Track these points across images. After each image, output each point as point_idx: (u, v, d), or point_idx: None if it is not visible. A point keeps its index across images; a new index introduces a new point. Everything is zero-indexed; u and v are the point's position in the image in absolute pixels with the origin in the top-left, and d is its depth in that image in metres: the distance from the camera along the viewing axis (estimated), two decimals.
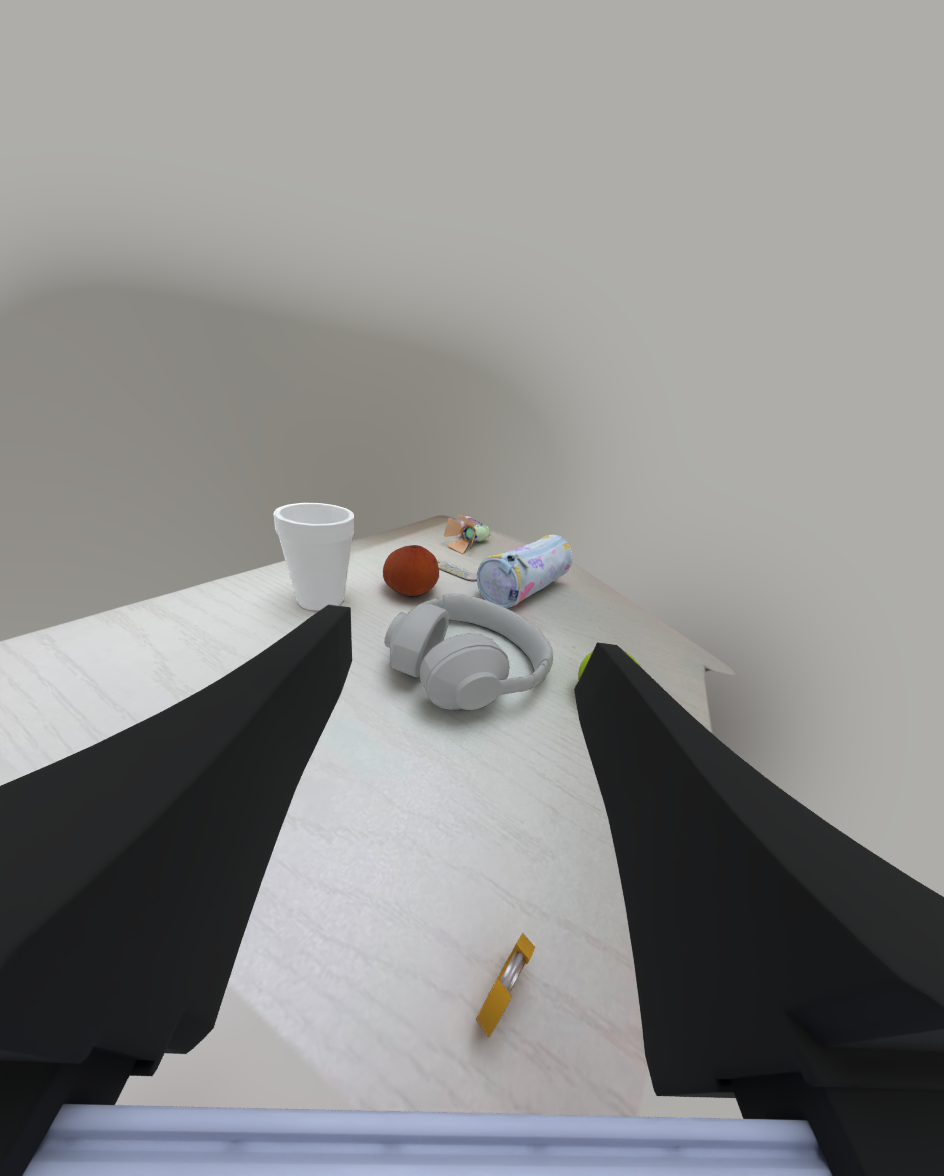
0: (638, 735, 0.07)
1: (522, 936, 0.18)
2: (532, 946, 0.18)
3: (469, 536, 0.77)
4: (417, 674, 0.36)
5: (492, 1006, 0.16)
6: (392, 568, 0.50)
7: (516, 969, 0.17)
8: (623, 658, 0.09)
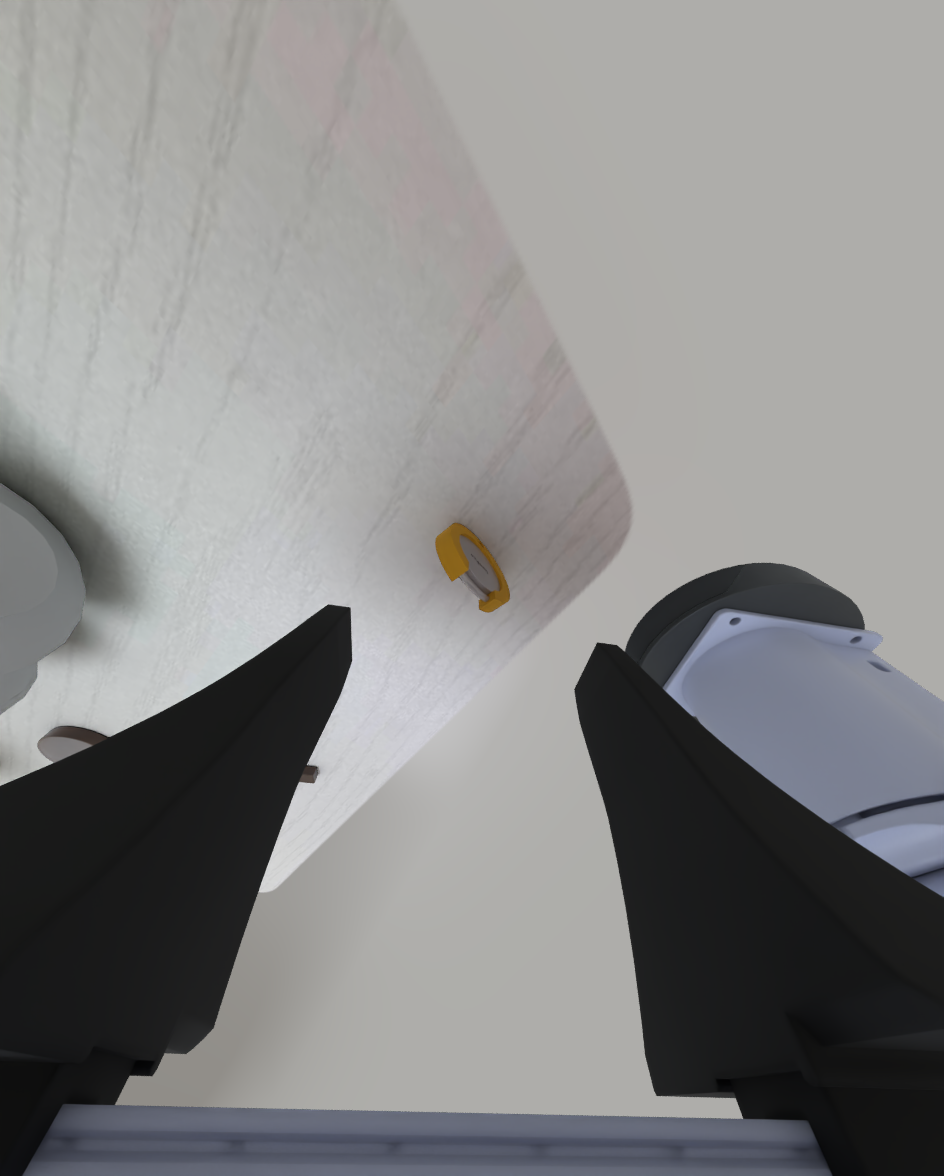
0: (638, 735, 0.07)
1: (442, 562, 0.13)
2: (453, 549, 0.13)
3: None
4: None
5: (496, 608, 0.14)
6: None
7: (474, 586, 0.13)
8: (623, 658, 0.09)
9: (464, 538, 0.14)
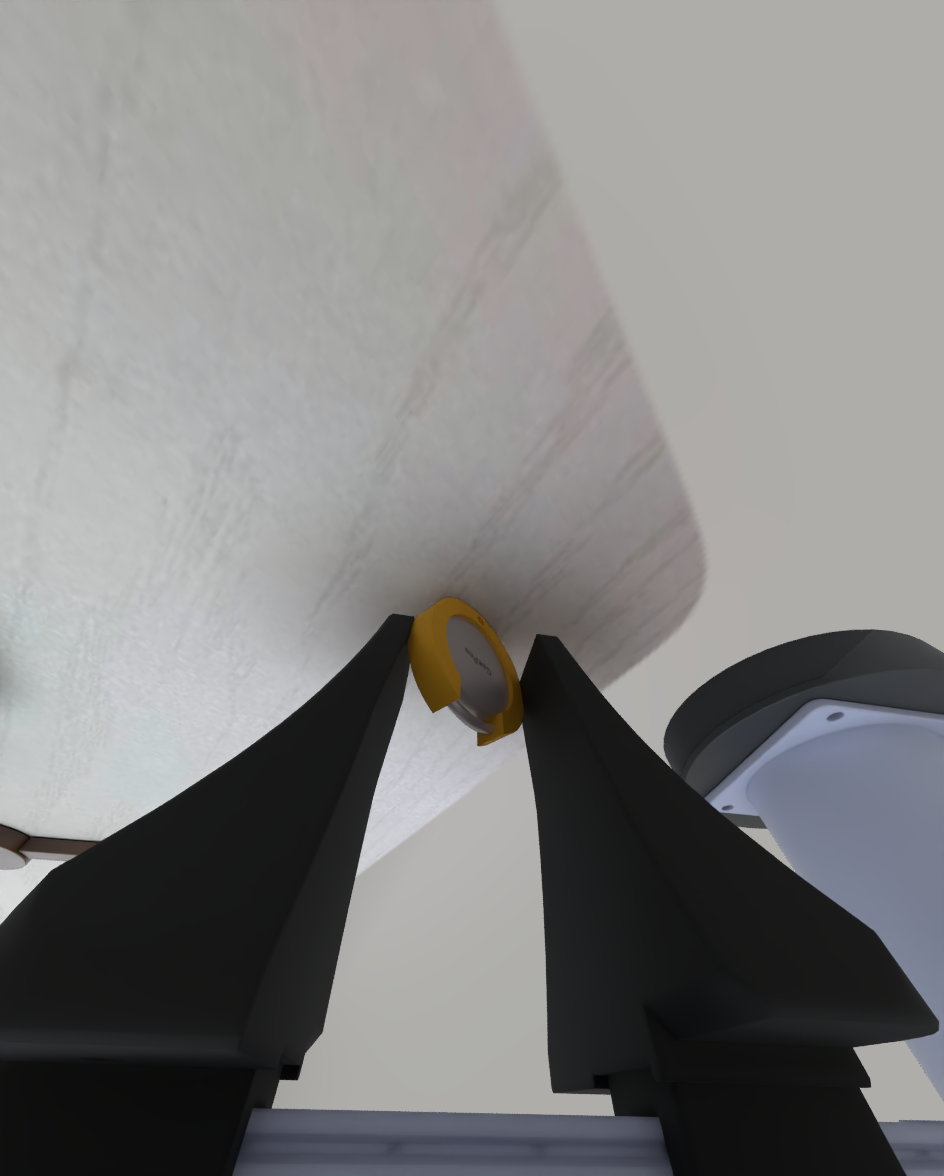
0: (560, 726, 0.07)
1: (417, 679, 0.08)
2: (434, 660, 0.08)
3: None
4: None
5: None
6: None
7: (469, 718, 0.08)
8: (557, 649, 0.09)
9: (455, 620, 0.10)
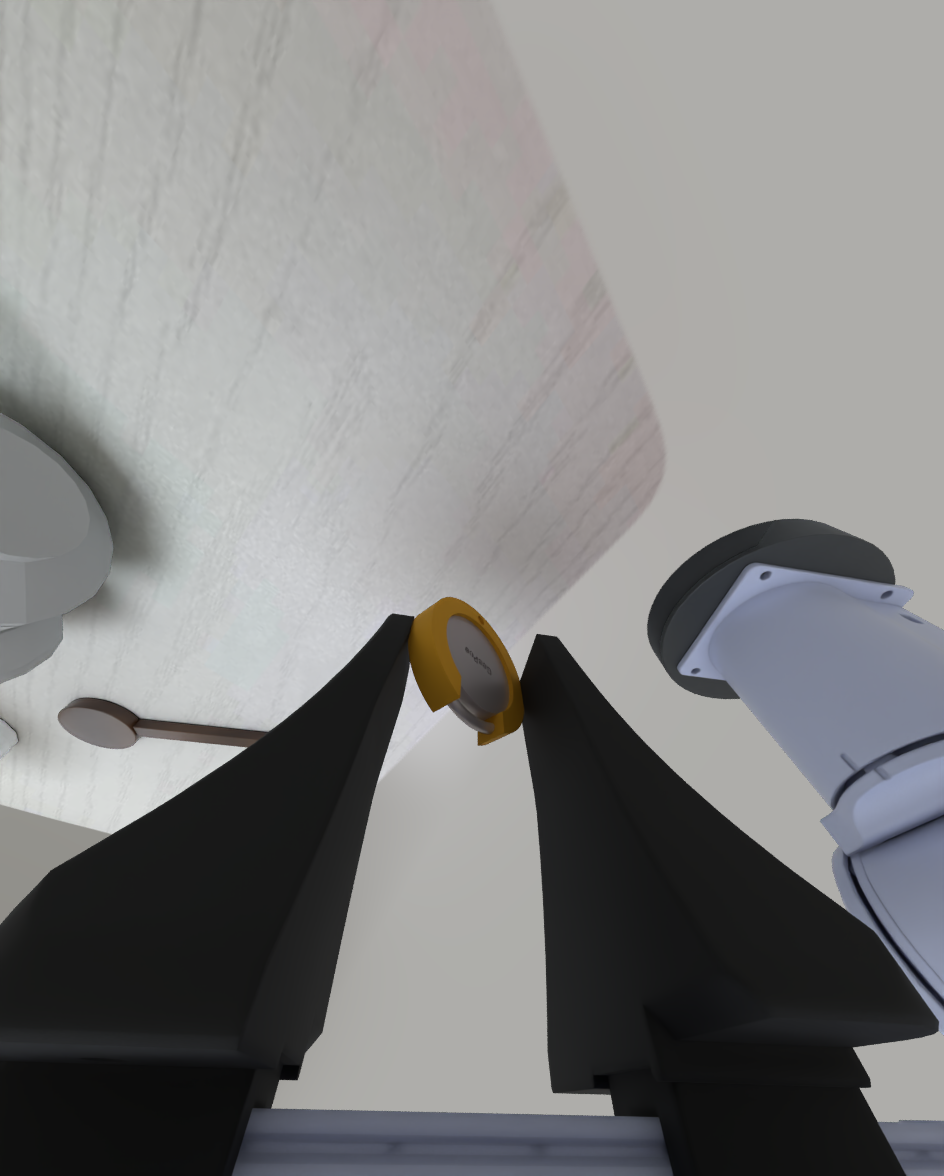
0: (560, 726, 0.07)
1: (417, 678, 0.08)
2: (435, 660, 0.08)
3: None
4: None
5: None
6: None
7: (470, 717, 0.08)
8: (557, 649, 0.09)
9: (455, 620, 0.10)
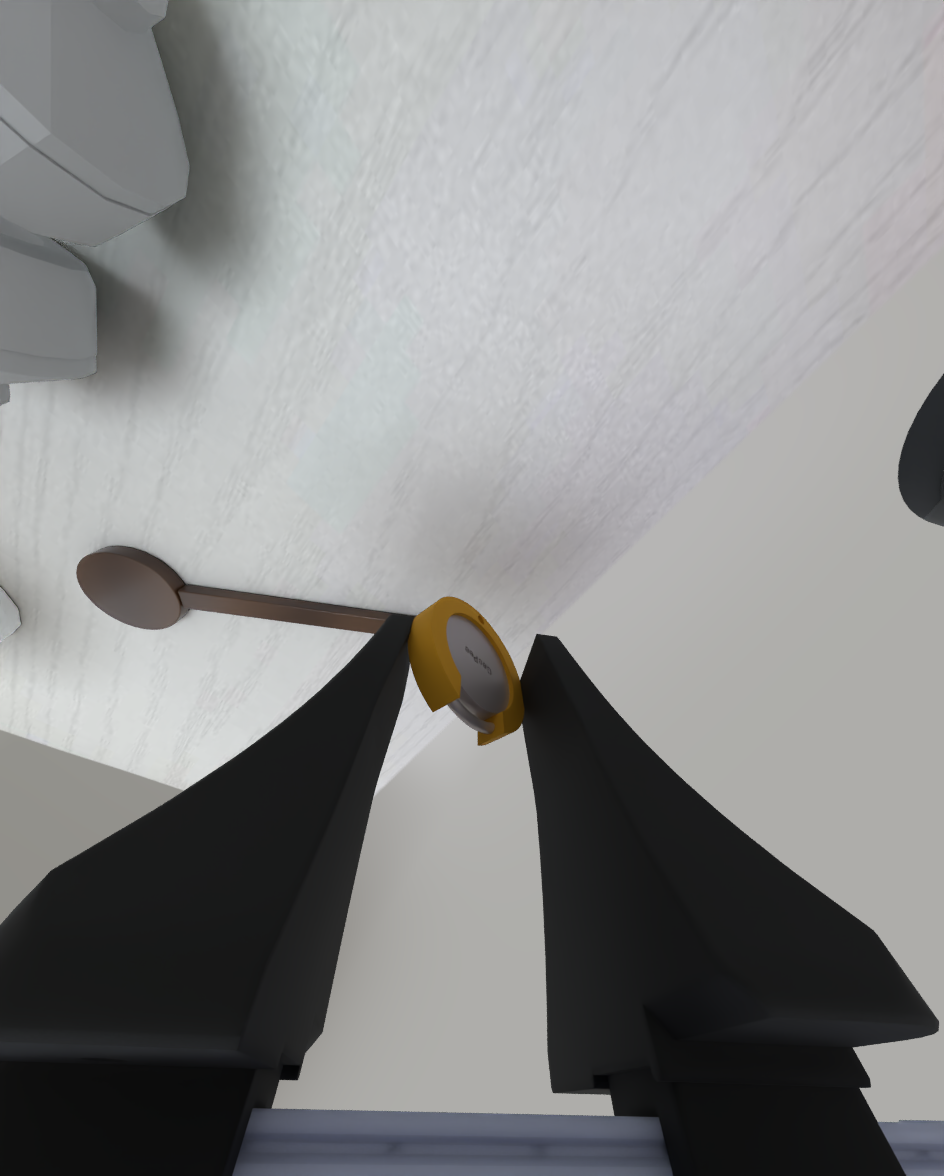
0: (560, 726, 0.07)
1: (417, 678, 0.08)
2: (434, 659, 0.08)
3: None
4: (77, 263, 0.10)
5: None
6: None
7: (470, 717, 0.08)
8: (557, 649, 0.09)
9: (455, 619, 0.09)
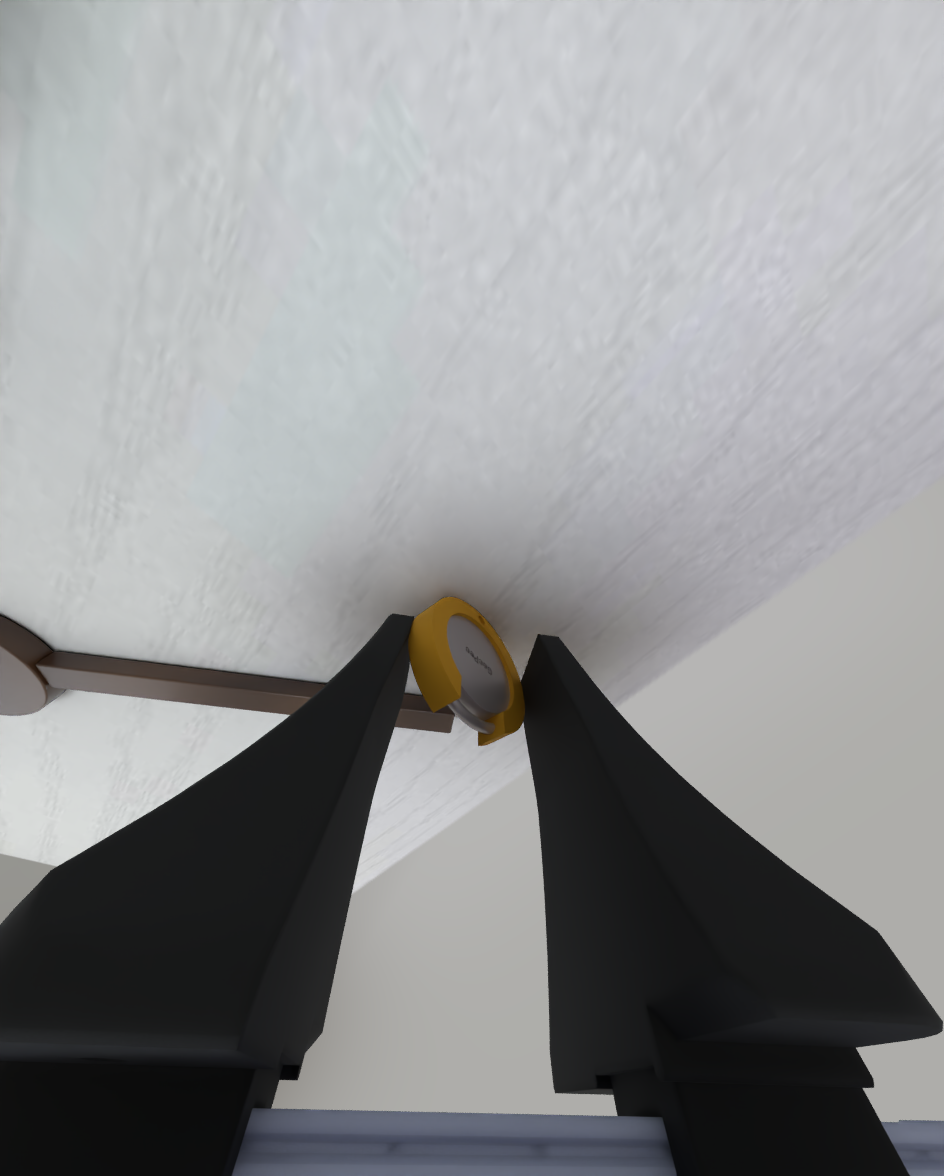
0: (561, 726, 0.07)
1: (418, 678, 0.08)
2: (435, 660, 0.08)
3: None
4: None
5: None
6: None
7: (470, 718, 0.08)
8: (559, 649, 0.09)
9: (455, 619, 0.09)
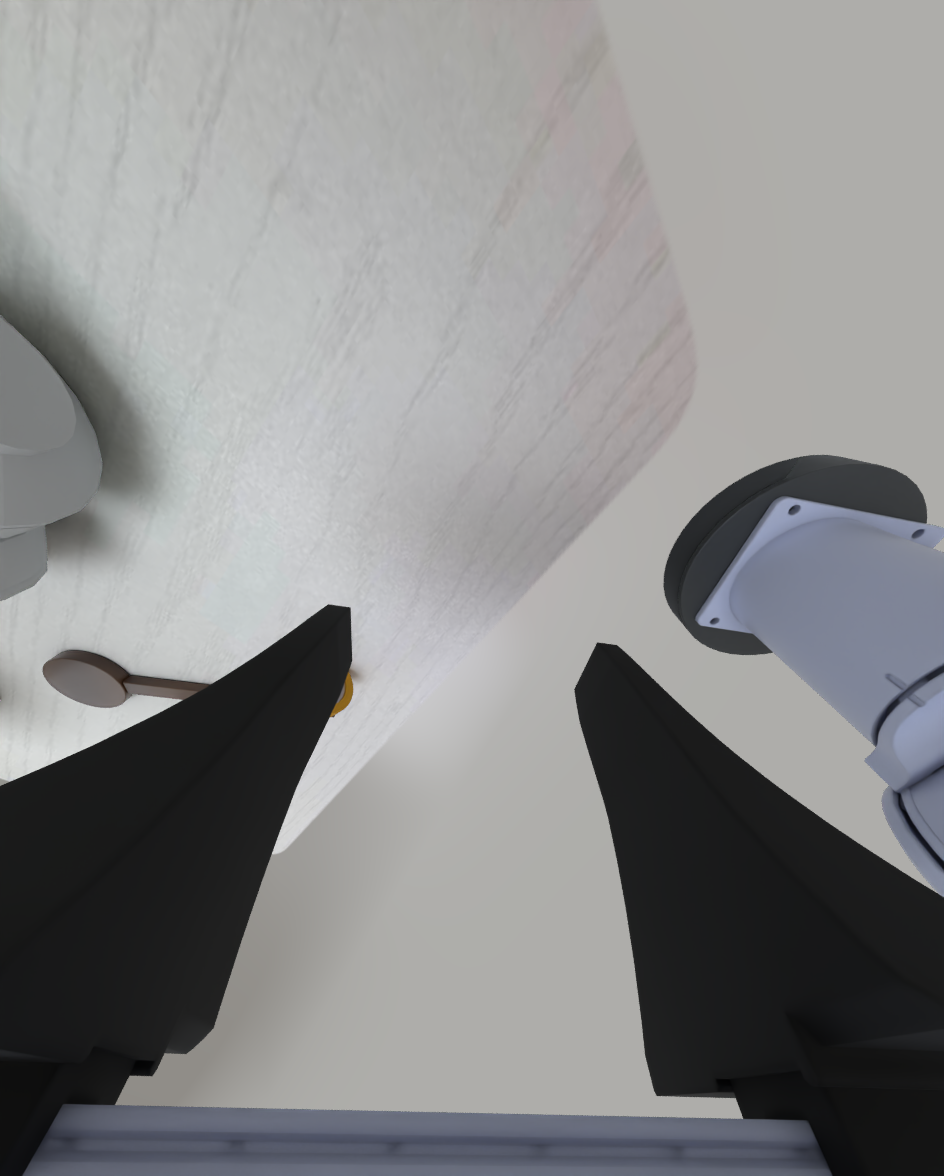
0: (638, 735, 0.07)
1: None
2: None
3: None
4: None
5: (334, 714, 0.21)
6: None
7: None
8: (623, 658, 0.09)
9: None
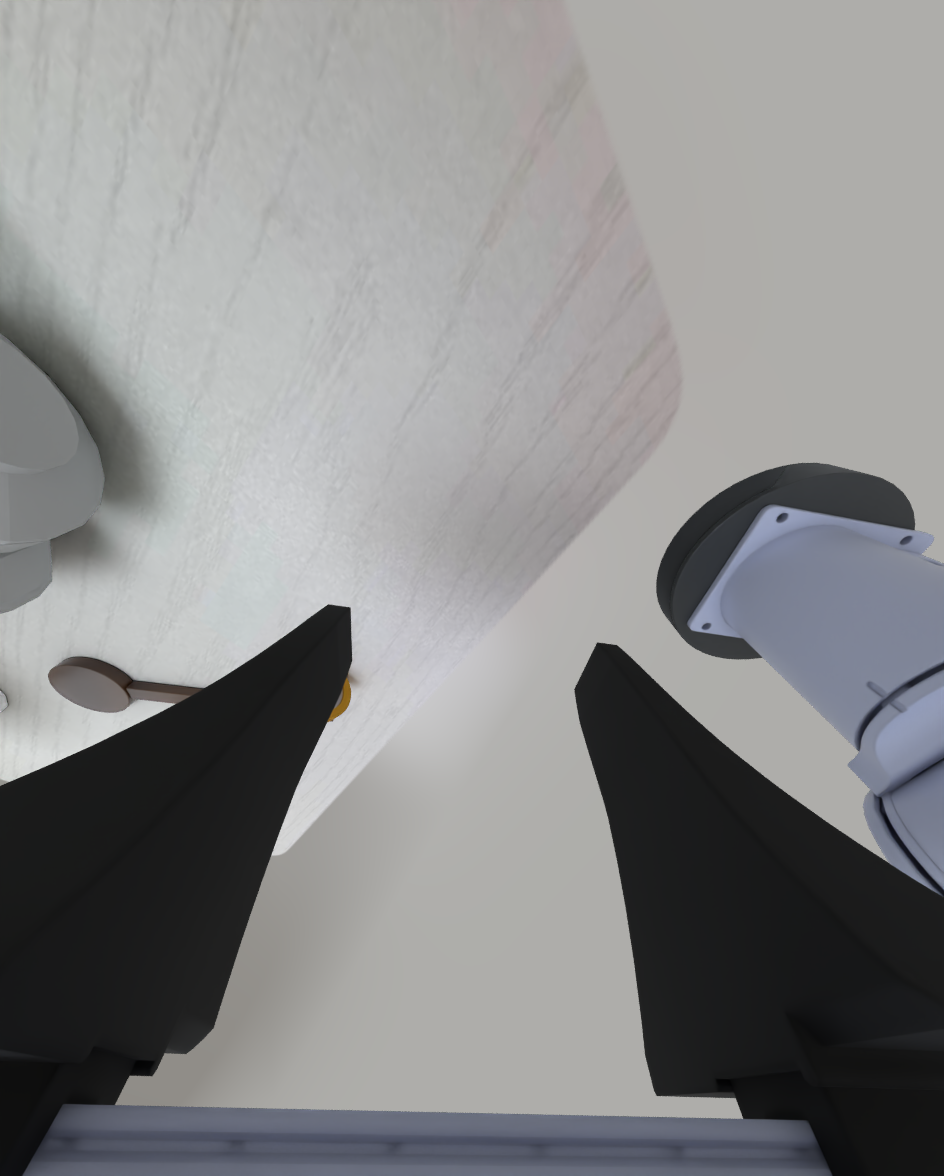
0: (638, 735, 0.07)
1: None
2: None
3: None
4: None
5: (332, 719, 0.21)
6: None
7: None
8: (623, 658, 0.09)
9: None
